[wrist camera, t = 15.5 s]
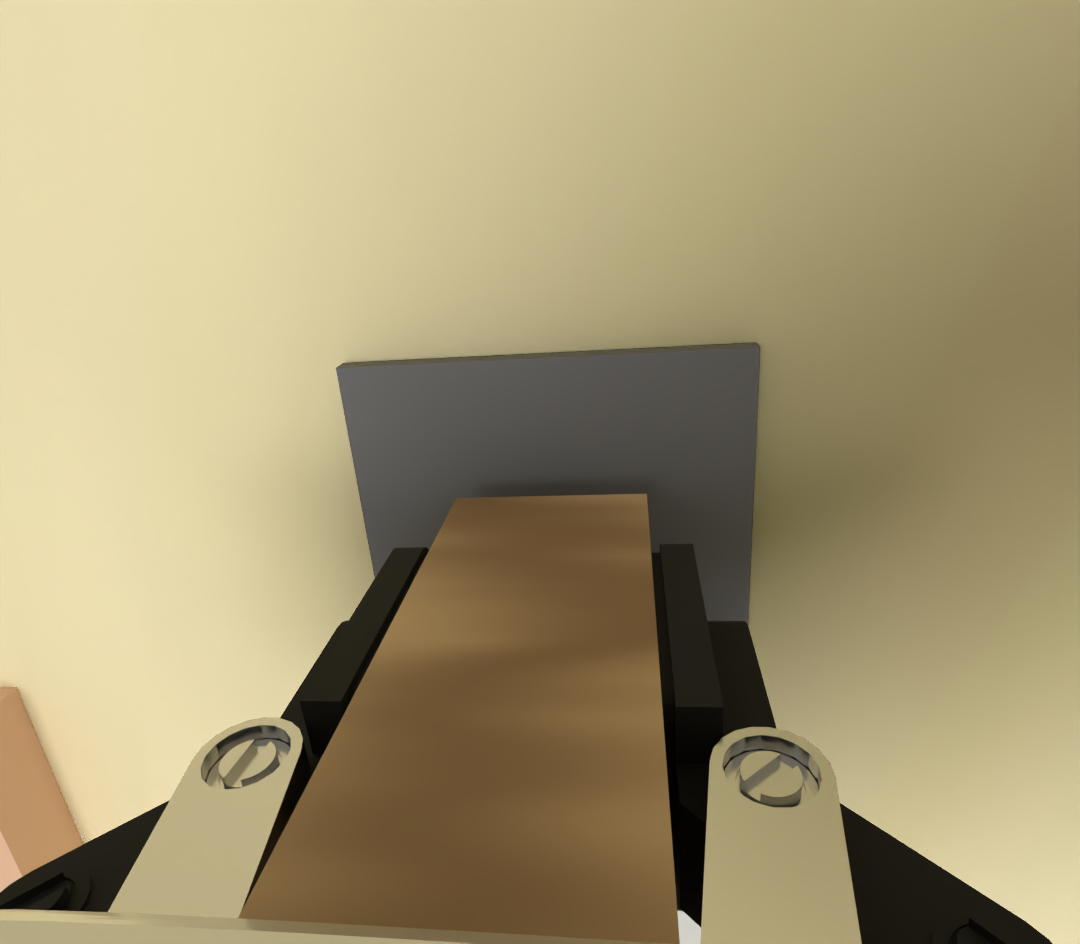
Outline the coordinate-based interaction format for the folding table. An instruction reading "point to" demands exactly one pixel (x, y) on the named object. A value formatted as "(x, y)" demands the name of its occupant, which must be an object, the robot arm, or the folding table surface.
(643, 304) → the folding table surface
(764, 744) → the robot arm
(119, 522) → the folding table surface
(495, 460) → the mat
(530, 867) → the block on white plate
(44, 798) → the tile
